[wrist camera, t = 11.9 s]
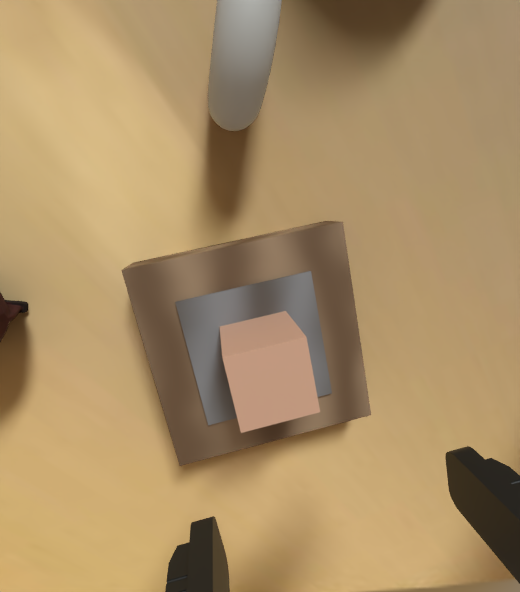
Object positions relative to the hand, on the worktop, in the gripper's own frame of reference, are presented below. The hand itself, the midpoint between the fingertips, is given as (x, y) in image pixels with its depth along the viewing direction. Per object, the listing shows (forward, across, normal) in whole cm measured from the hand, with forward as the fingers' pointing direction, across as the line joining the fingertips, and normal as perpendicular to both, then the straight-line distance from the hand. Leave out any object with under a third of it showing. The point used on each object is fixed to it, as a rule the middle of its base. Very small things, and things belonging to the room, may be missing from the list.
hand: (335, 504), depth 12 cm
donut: (+20, -2, -20) cm, 28 cm away
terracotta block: (+16, +1, 0) cm, 16 cm away
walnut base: (+20, +1, 0) cm, 20 cm away
